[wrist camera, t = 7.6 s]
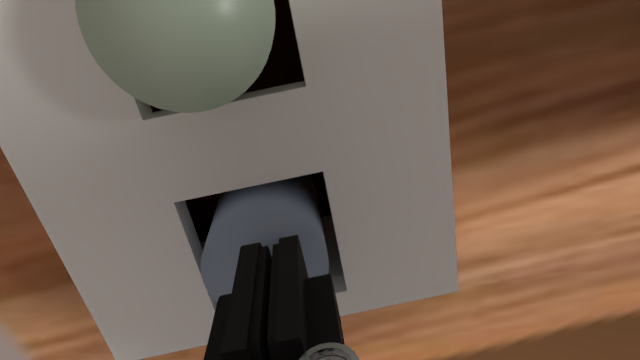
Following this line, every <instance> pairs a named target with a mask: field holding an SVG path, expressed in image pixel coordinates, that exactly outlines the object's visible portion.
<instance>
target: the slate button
mask: <svg viewBox="0 0 640 360" xmlns="http://www.w3.org/2000/svg"><path fill="white" fill-rule="evenodd" d="M293 235H298V237H299V241H300V245H301V249H302V253H303V257H304V261H305V265H306V269H307V273H308V277H309V278H311V277H316V276H321V275H326V274H328V272H329V259H328V253H327V248H326V243H325V238H324V232H323V227H322V222H321V217H320V212H319V207H318V202H317V197H316V191H315V187H314V184H313V182H312V180H311V178H310V176H309V175H303V176H299V177H294V178H289V179H284V180H280V181H275V182H270V183H265V184H260V185H256V186H251V187H246V188H241V189H237V190H232V191H227V192H222V193H221V195H220V198H219V201H218V204H217V208H216V211H215V214H214V217H213V220H212V224H211V227H210V230H209V233H208V237H207V240H206V243H205V246H204V250H203V253H202V257H201V266H200V269H201V276H202V280H203V283H204V285H205V287H206V289H207V291H208V292H209V294H210V295H211V296H212V297H213V299H214V300H215V301H216V302H217V301H218V298H219V297H220V296H221V295H226V294H231V293H232V288H233V283H234V278H235V273H236V268H237V262H238V257H239V252H240V247H241V246H243V245H248V244H253V243H258V242H260V243H261V245H262V247H263V246H268V247H269V250H270V253H271V257H272V248H273V244H278V243H279V238H283V237H288V236H293Z"/></svg>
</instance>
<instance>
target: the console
mask: <svg viewBox="0 0 640 360" xmlns="http://www.w3.org/2000/svg"><path fill="white" fill-rule="evenodd" d="M288 2H289V7H290V11H291V16H292V21H293V26H294V31H295V36H296V41H297V46H298V51H299V56H300V61H301V66H302V71H303V76H304V81H301V82H296V83H291V84H286V85H281V86H276V87H272V88H267V89H262V90H257V91H252V92H248V93H243V94H241V95H240V96H239V97H238V98H236V99H234V100H233V101H231V102H229V103H228V104H225V105H223V106H221V107H218V108H215V109H212V110H208V111H202V112H195V113H182V112H173V111H168V110H161V111H156V112H152V109H151V106H150V105H148V104H146V103H144V102H142V101H140V100H138V99H136V98H134V97H133V96H131V95H130V94H128V93H127V92H125V91H124V90H123V89H121V88H120V87H119V86H118V85H117V84H115V83H114V82H113V81H112V80H111V79H110V78H109V77H108V76H107V75H106V74H105V72H104V71H103V70H102V69H101V67H100V66H99V65H98V64H97V62H96V61H95V59H94V57H93V56H92V54H91V53H90V51H89V49H88V47H87V45H86V43H85V41H84V39H83V36H82V33H81V30H80V27H79V24H78V19H77V15H76V10H75V0H0V147H1V149H2V151H3V153H4V155H5V156H6V158H7V160H8V162H9V164H10V166H11V168H12V169H13V171H14V173H15V175H16V177H17V179H18V181H19V182H20V184H21V186H22V188H23V190H24V192H25V193H26V195H27V197H28V199H29V201H30V203H31V205H32V206H33V208H34V210H35V212H36V214H37V216H38V218H39V219H40V221H41V223H42V225H43V227H44V229H45V230H46V232H47V234H48V236H49V238H50V240H51V242H52V243H53V245H54V247H55V249H56V251H57V253H58V255H59V256H60V258H61V260H62V262H63V264H64V266H65V267H66V269H67V271H68V273H69V275H70V277H71V279H72V280H73V282H74V284H75V286H76V288H77V290H78V292H79V293H80V295H81V297H82V299H83V301H84V303H85V304H86V306H87V308H88V310H89V312H90V314H91V316H92V317H93V319H94V321H95V323H96V325H97V327H98V328H99V330H100V332H101V334H102V336H103V338H104V340H105V341H106V343H107V345H108V347H109V349H110V351H111V353H112V354H113V356H114V358H115V360H139V359H144V358H148V357H153V356H158V355H162V354H167V353H172V352H176V351H181V350H186V349H190V348H195V347H200V346H204V345H207V344H208V340H209V335H210V331H211V327H212V323H213V318H214V314H215V310H216V305H217V302H216V301H215V300H214V299H213V297H212V296H211V295H210V294H209V292H208V291H207V289H206V287H205V285H204V283H203V280H202V276H201V269H200V266H201V257H202V253H203V250H204V246H205V243H206V241H204V242H200V241H199V238H198V235H197V233H196V230H195V227H194V224H193V222H192V219H191V216H190V213H189V211H188V208H187V205H186V202H185V200H189V199H194V198H199V197H203V196H208V195H213V194H218V193H222V192H227V191H232V190H237V189H241V188H246V187H251V186H256V185H260V184H265V183H270V182H275V181H280V180H284V179H289V178H294V177H299V176H303V175H308V174H313V173H318V172H322V171H323V176H324V181H325V186H326V191H327V196H328V201H329V206H330V211H331V215H327V216H322V217H321V222H322V227H323V232H324V238H325V243H326V248H327V253H328V259H329V272H328V274H331V276H332V281H333V285H334V290H335V295H336V299H337V304H338V310H339V315H340V316H345V315H350V314H354V313H359V312H364V311H368V310H373V309H378V308H382V307H387V306H392V305H396V304H401V303H406V302H410V301H415V300H420V299H424V298H429V297H434V296H438V295H443V294H448V293H453V292H457V291H459V287H458V270H457V253H456V236H455V219H454V202H453V185H452V168H451V150H450V133H449V116H448V99H447V82H446V65H445V48H444V31H443V14H442V0H288Z"/></svg>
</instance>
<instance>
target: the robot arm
mask: <svg viewBox="0 0 640 360" xmlns="http://www.w3.org/2000/svg"><path fill="white" fill-rule="evenodd" d="M204 360H359V358H358V356H357V355H356V353H355V352H354V351H353V350H352V349H351V348H349V347H348V346H346V345H345V344H344V338H343V332H342V326H341V320H340V315H339V310H338V304H337V299H336V295H335V290H334V285H333V281H332V276H331V274H326V275H321V276H316V277H311V278H309V277H308V273H307V269H306V265H305V261H304V257H303V253H302V249H301V245H300V241H299V237H298V235H293V236H288V237H283V238H279V243H278V244H273V248H272V257H271V253H270V250H269V247H268V246H263V247H262V245H261V243H260V242H258V243H253V244H248V245H243V246H241V247H240V252H239V257H238V262H237V268H236V273H235V278H234V283H233V288H232V293H231V294H226V295H221V296H220V297H219V298H218V301H217V305H216V310H215V314H214V318H213V323H212V327H211V331H210V335H209V340H208V344H207V348H206V352H205V357H204Z"/></svg>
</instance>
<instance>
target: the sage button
mask: <svg viewBox="0 0 640 360" xmlns="http://www.w3.org/2000/svg"><path fill="white" fill-rule="evenodd" d="M75 10H76V15H77V19H78V24H79V27H80V30H81V33H82V36H83V39H84V41H85V43H86V45H87V47H88V49H89V51H90V53H91V54H92V56H93V57H94V59H95V61H96V62H97V64H98V65H99V66H100V67H101V69H102V70H103V71H104V72H105V74H106V75H107V76H108V77H109V78H110V79H111V80H112V81H113V82H114V83H115V84H117V85H118V86H119V87H120V88H121V89H123V90H124V91H125V92H127V93H128V94H130V95H131V96H133V97H134V98H136V99H138V100H140V101H142V102H144V103H146V104H148V105H151V106H154V107H156V108H159V109H163V110H168V111H173V112H182V113H195V112H202V111H208V110H212V109H215V108H218V107H221V106H223V105H225V104H228V103H229V102H231V101H233V100H234V99H236V98H238V97H239V96H240V95H241V94H243V93H244V92H245V91H246V90H247V89H248V88H249V87H250V86H251V85H252V84H253V83H254V82H255V80H256V79H257V78H258V76H259V75H260V73H261V72H262V70H263V68H264V66H265V64H266V62H267V59H268V57H269V54H270V51H271V47H272V43H273V38H274V32H275V25H276V7H275V1H274V0H75Z"/></svg>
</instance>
